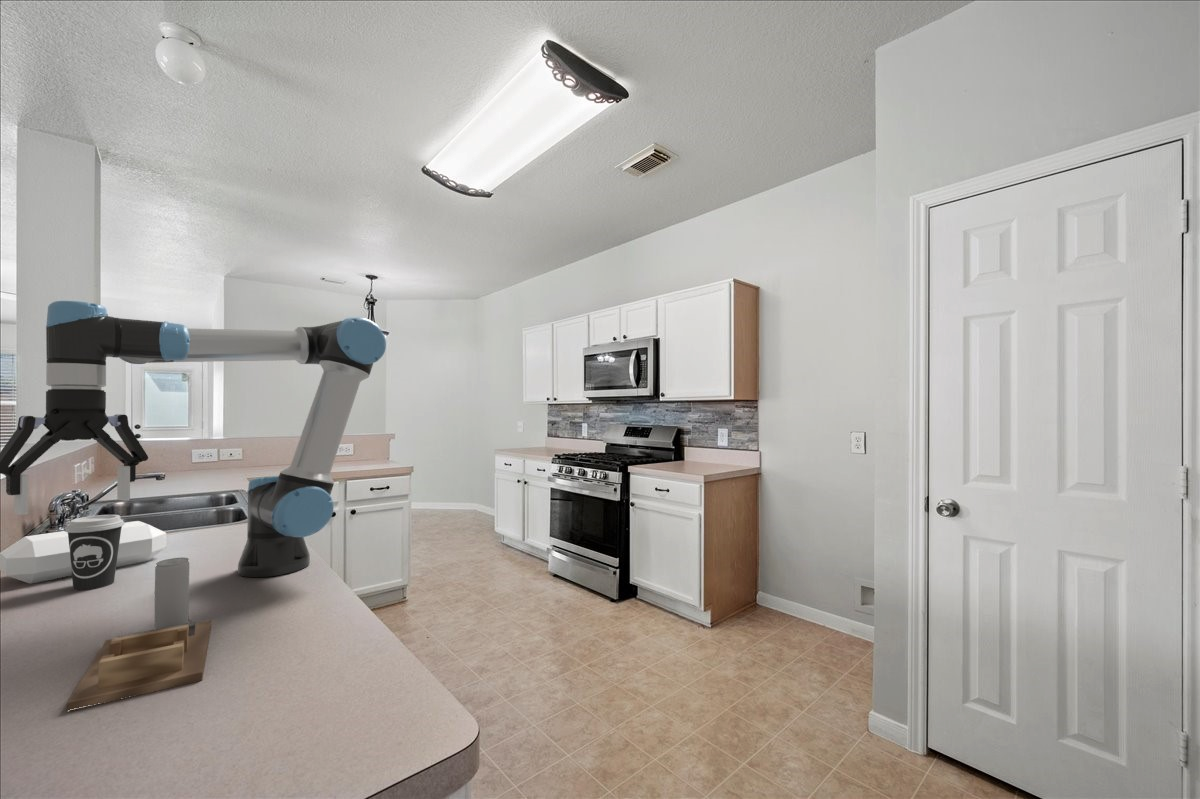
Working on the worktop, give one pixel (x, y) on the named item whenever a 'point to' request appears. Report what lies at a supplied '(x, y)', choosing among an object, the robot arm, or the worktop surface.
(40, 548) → the crystal
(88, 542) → the coffee cup
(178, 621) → the beverage can
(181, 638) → the board
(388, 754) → the worktop surface
